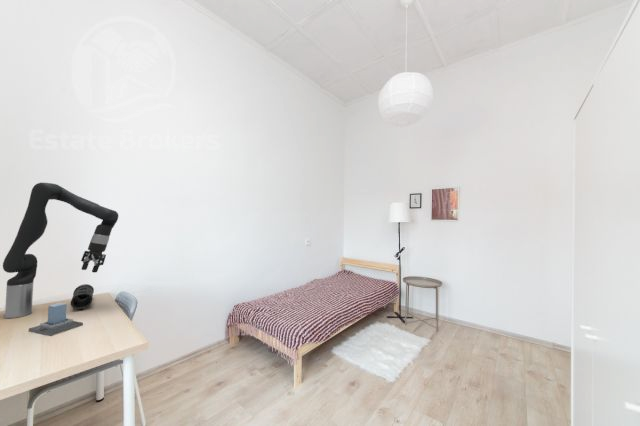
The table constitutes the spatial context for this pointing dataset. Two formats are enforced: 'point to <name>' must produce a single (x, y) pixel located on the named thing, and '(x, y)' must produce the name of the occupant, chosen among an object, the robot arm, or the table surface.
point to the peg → (57, 313)
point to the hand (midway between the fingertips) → (89, 271)
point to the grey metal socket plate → (55, 327)
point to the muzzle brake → (82, 296)
